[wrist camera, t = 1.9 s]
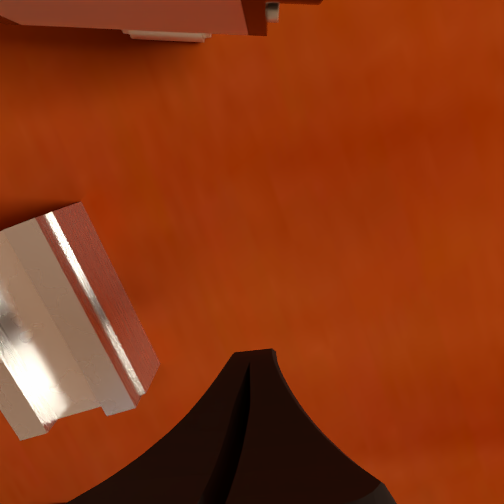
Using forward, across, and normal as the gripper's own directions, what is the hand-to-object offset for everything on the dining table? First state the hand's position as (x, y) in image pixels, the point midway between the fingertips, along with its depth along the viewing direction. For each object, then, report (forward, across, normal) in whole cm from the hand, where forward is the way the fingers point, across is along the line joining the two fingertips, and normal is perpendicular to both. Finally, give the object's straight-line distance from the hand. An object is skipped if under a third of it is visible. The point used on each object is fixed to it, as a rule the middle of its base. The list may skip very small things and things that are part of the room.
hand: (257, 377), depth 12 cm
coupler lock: (+9, +11, 0) cm, 14 cm away
